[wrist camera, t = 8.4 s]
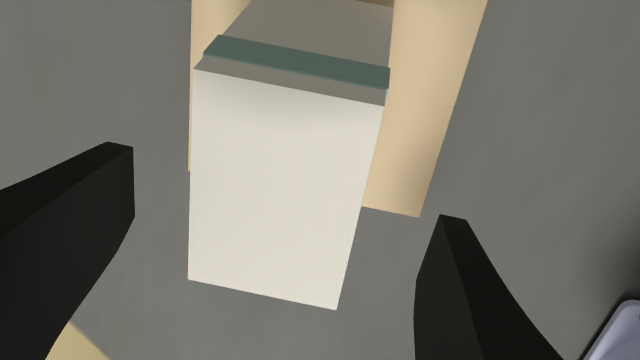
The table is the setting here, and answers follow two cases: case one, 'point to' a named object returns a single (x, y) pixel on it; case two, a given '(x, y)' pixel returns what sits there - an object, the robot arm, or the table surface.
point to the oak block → (392, 89)
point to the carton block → (285, 145)
